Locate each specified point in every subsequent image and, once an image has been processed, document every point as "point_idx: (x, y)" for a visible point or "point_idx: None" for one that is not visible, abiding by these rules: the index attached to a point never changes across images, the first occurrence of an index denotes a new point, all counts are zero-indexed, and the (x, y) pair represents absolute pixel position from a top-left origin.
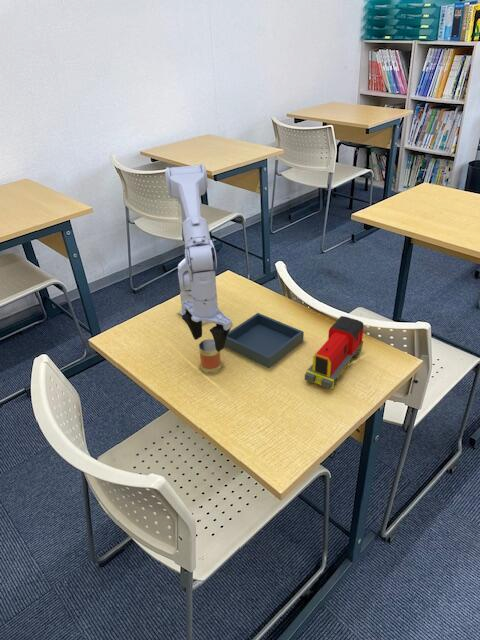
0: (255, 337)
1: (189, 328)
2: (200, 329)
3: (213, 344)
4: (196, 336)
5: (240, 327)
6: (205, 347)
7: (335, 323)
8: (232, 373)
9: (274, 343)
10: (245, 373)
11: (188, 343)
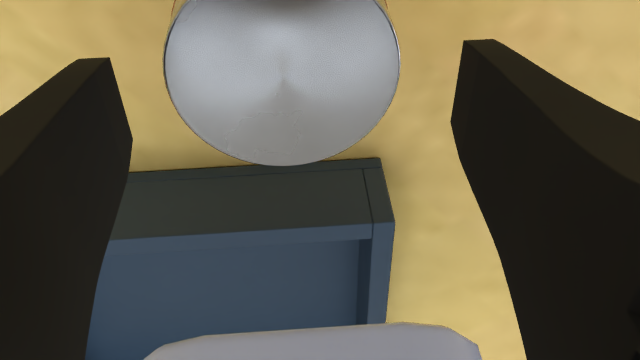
0: (280, 302)
1: (601, 104)
2: (481, 180)
3: (252, 110)
4: (474, 77)
5: (365, 322)
6: (277, 20)
7: None
8: (100, 12)
9: (162, 321)
10: (39, 70)
11: (631, 46)
